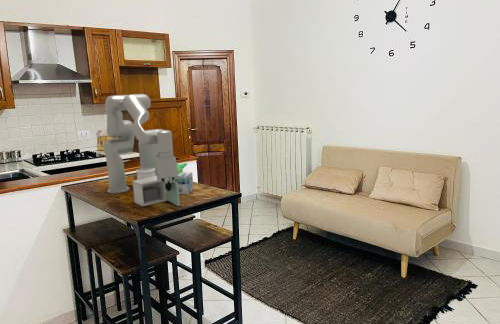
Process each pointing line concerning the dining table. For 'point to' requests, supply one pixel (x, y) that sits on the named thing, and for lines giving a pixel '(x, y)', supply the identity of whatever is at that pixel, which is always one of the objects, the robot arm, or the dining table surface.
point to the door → (173, 193)
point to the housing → (149, 191)
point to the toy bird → (179, 169)
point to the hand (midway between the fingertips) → (168, 190)
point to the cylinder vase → (148, 156)
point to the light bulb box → (185, 182)
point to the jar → (145, 173)
